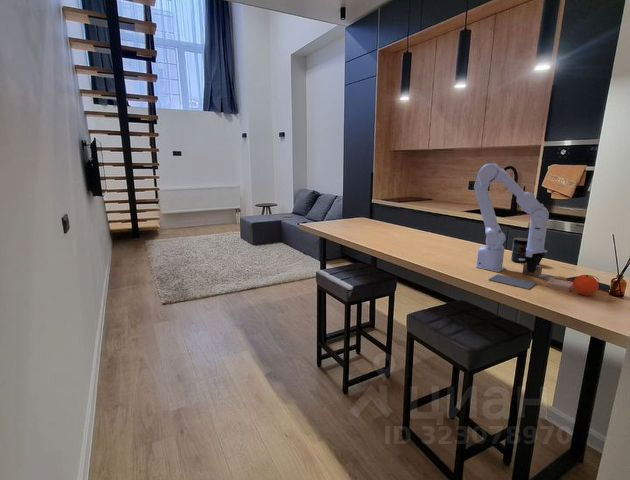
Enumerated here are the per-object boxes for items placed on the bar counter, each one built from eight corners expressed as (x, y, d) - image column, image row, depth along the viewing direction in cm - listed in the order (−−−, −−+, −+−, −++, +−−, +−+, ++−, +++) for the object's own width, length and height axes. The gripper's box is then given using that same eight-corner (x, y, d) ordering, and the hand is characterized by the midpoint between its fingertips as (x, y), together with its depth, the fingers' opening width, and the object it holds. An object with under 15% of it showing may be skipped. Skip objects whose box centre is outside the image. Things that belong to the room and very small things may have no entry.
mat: (488, 280, 135) (488, 279, 135) (497, 275, 141) (497, 274, 141) (528, 289, 125) (529, 288, 125) (536, 283, 131) (537, 282, 130)
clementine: (588, 290, 124) (592, 271, 122) (605, 298, 117) (609, 277, 115) (566, 291, 123) (569, 271, 122) (581, 298, 117) (585, 278, 115)
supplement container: (524, 259, 163) (527, 237, 160) (530, 263, 156) (533, 241, 154) (508, 259, 164) (511, 237, 161) (514, 263, 157) (517, 240, 155)
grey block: (521, 274, 142) (522, 264, 141) (525, 271, 145) (526, 262, 144) (553, 280, 134) (554, 270, 133) (556, 277, 137) (557, 268, 136)
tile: (546, 282, 128) (569, 287, 123) (551, 278, 132) (574, 282, 127) (545, 287, 128) (568, 292, 123) (551, 283, 133) (573, 287, 128)
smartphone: (608, 291, 122) (564, 278, 135) (607, 294, 122) (564, 280, 135) (621, 288, 124) (577, 276, 138) (621, 291, 124) (577, 278, 138)
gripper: (542, 242, 131) (537, 277, 133) (553, 236, 140) (548, 269, 143) (521, 239, 136) (517, 273, 139) (533, 234, 145) (529, 265, 148)
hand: (532, 271), depth 141 cm, fingers closed on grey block, 3 cm apart
